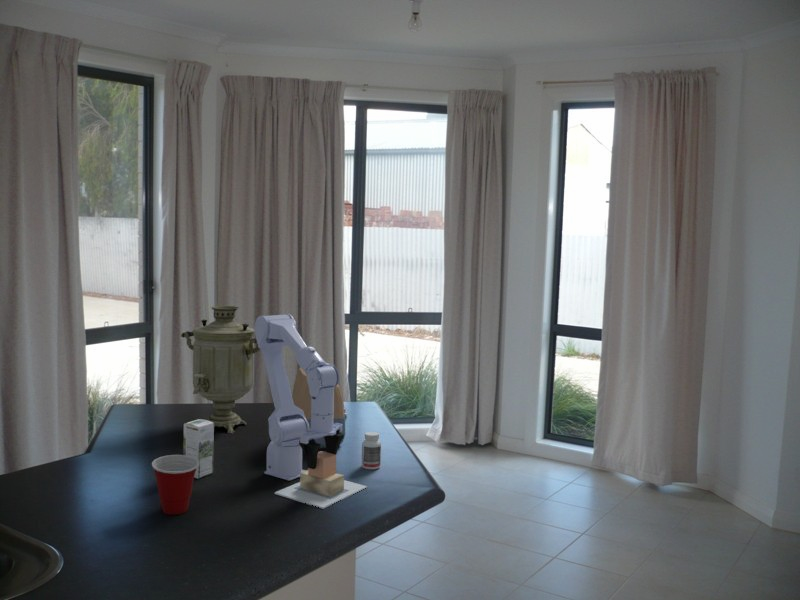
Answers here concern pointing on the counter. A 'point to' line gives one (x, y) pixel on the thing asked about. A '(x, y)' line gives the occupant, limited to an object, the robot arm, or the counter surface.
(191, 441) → the syrup box
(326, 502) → the white flat plate
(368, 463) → the pill bottle
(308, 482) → the slab
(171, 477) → the plastic cup
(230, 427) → the samovar
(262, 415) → the counter surface
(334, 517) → the counter surface
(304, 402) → the orange and grey canister
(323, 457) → the cube
